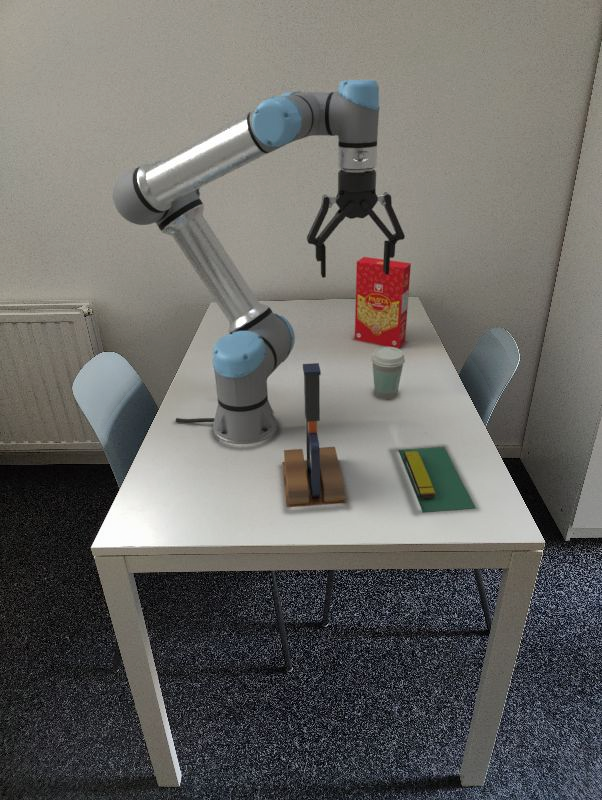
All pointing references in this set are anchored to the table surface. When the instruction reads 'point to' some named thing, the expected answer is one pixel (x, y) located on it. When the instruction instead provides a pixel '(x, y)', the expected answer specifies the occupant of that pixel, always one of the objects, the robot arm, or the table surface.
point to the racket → (312, 424)
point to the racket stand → (299, 480)
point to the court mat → (440, 481)
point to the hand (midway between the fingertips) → (354, 274)
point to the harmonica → (419, 474)
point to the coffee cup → (387, 371)
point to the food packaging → (381, 302)
